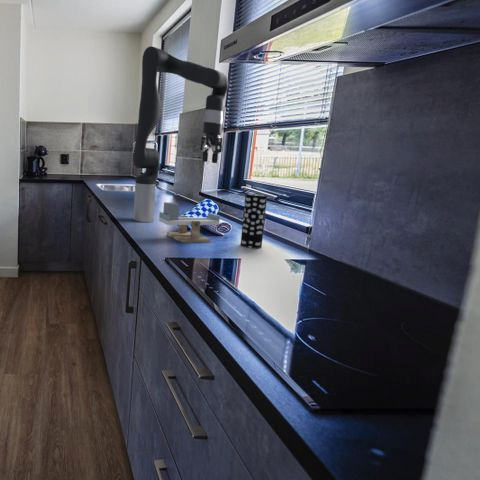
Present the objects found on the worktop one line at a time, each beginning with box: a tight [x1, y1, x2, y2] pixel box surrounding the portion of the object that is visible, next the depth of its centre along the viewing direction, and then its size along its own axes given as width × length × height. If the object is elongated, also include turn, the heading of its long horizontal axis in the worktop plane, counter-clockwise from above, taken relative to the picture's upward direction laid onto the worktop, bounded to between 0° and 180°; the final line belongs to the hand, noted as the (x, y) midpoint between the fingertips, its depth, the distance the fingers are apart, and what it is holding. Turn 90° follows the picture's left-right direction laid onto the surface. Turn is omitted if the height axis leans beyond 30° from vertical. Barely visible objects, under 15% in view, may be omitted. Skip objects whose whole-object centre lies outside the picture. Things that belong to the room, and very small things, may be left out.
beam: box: [158, 211, 221, 226], centre depth 169 cm, size 9×22×4 cm, turn 122°
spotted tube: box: [239, 192, 268, 249], centre depth 167 cm, size 8×8×20 cm
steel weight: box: [162, 201, 180, 220], centre depth 164 cm, size 4×4×6 cm
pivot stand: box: [166, 215, 211, 244], centre depth 170 cm, size 14×12×8 cm
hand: (209, 162), depth 179 cm, fingers open, 8 cm apart
